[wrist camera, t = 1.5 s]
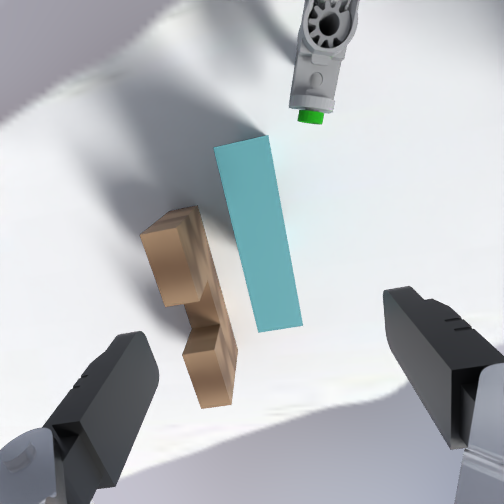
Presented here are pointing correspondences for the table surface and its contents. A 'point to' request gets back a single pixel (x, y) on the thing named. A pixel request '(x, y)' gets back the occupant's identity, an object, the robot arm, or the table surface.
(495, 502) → the robot arm
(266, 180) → the teal notched block
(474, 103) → the table surface
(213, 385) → the walnut slotted plate
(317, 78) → the mechanical component
